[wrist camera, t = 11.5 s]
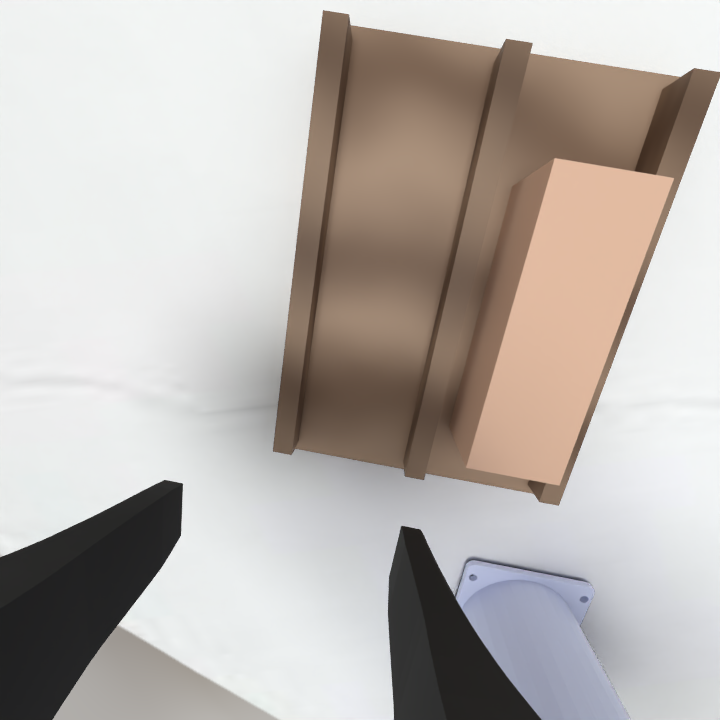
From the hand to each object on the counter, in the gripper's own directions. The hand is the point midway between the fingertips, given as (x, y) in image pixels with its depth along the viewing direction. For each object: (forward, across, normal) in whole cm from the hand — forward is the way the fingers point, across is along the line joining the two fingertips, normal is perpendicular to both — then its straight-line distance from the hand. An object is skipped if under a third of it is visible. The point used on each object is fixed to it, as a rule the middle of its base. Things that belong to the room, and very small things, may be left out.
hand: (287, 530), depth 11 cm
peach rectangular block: (+8, -8, -7) cm, 14 cm away
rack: (+9, -5, -8) cm, 13 cm away
